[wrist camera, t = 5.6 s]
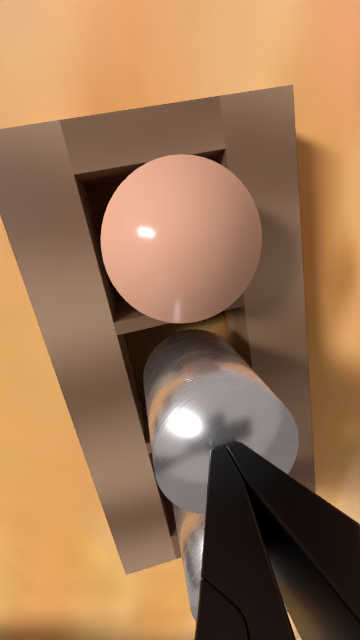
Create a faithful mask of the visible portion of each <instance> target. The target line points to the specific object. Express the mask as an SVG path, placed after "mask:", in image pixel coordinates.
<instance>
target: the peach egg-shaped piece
mask: <svg viewBox="0 0 360 640" xmlns="http://www.w3.org/2000/svg"><path fill="white" fill-rule="evenodd" d="M261 247H262V228H261V222H260V217H259V214H258V210H257V207H256V205H255V203H254V200H253V198H252V196H251V195H250V193H249V191H248V190H247V188H246V187H245V186H244V184H243V183H242V182H241V181H240V180H239V179H238V178H237V177H236V176H235V175H234V174H233V173H232V172H231V171H229V170H228V169H227V168H225V167H224V166H222V165H220V164H218V163H216V162H215V161H212V160H209V159H207V158H204V157H200V156H195V155H184V154H179V155H169V156H165V157H161V158H157V159H155V160H152V161H150V162H148V163H146V164H144V165H142V166H141V167H139V168H137V169H136V170H135V171H134V172H132V173H131V174H130V175H129V176H128V177H127V178H126V179H125V180H124V181H123V182H122V183H121V184H120V185H119V187H118V188H117V190H116V191H115V193H114V194H113V196H112V198H111V200H110V202H109V204H108V206H107V209H106V212H105V214H104V218H103V223H102V228H101V252H102V257H103V262H104V265H105V268H106V271H107V274H108V276H109V278H110V280H111V282H112V284H113V285H114V287H115V288H116V290H117V291H118V292H119V294H120V295H121V296H122V297H123V298H124V299H125V300H126V301H127V302H128V303H129V304H130V305H131V306H132V307H134V308H135V309H137V310H138V311H139V312H141V313H143V314H145V315H147V316H149V317H151V318H154V319H157V320H160V321H164V322H169V323H191V322H197V321H201V320H204V319H208V318H210V317H212V316H214V315H217V314H218V313H220V312H222V311H223V310H225V309H226V308H228V307H229V306H230V305H231V304H233V303H234V302H235V301H236V300H237V299H238V298H239V297H240V296H241V294H242V293H243V292H244V291H245V289H246V288H247V286H248V285H249V283H250V282H251V280H252V278H253V276H254V273H255V271H256V269H257V266H258V263H259V259H260V254H261Z"/></svg>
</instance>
